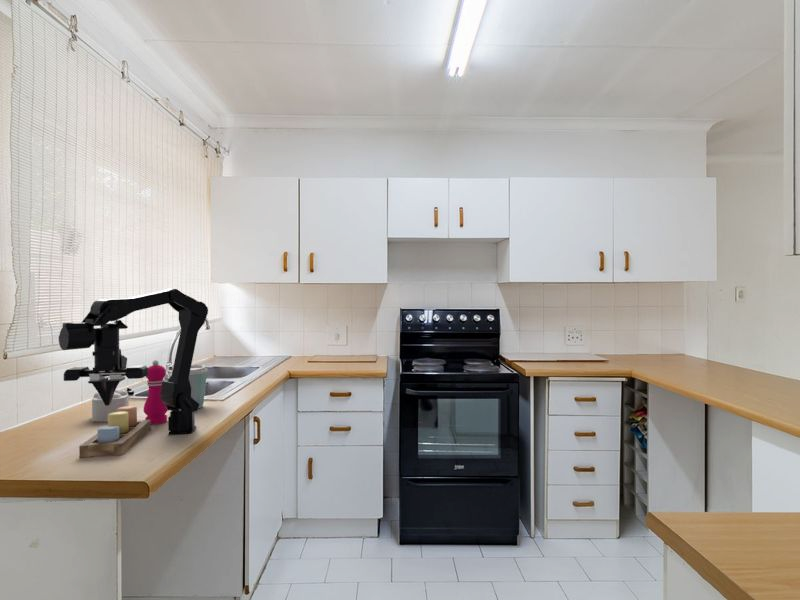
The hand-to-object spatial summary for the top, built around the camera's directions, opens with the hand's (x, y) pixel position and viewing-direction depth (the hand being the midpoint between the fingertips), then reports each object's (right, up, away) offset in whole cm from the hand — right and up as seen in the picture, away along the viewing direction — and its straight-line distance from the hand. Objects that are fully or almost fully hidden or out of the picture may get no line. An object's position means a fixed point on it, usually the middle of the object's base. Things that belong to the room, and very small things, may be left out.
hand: (107, 405), depth 131 cm
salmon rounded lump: (-2, -9, +14) cm, 17 cm away
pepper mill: (-1, -12, +28) cm, 31 cm away
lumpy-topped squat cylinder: (-20, -12, +36) cm, 43 cm away
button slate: (0, -11, 0) cm, 11 cm away
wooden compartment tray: (-1, -12, +7) cm, 14 cm away
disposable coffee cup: (+2, -11, +48) cm, 50 cm away
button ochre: (-1, -9, +7) cm, 11 cm away
